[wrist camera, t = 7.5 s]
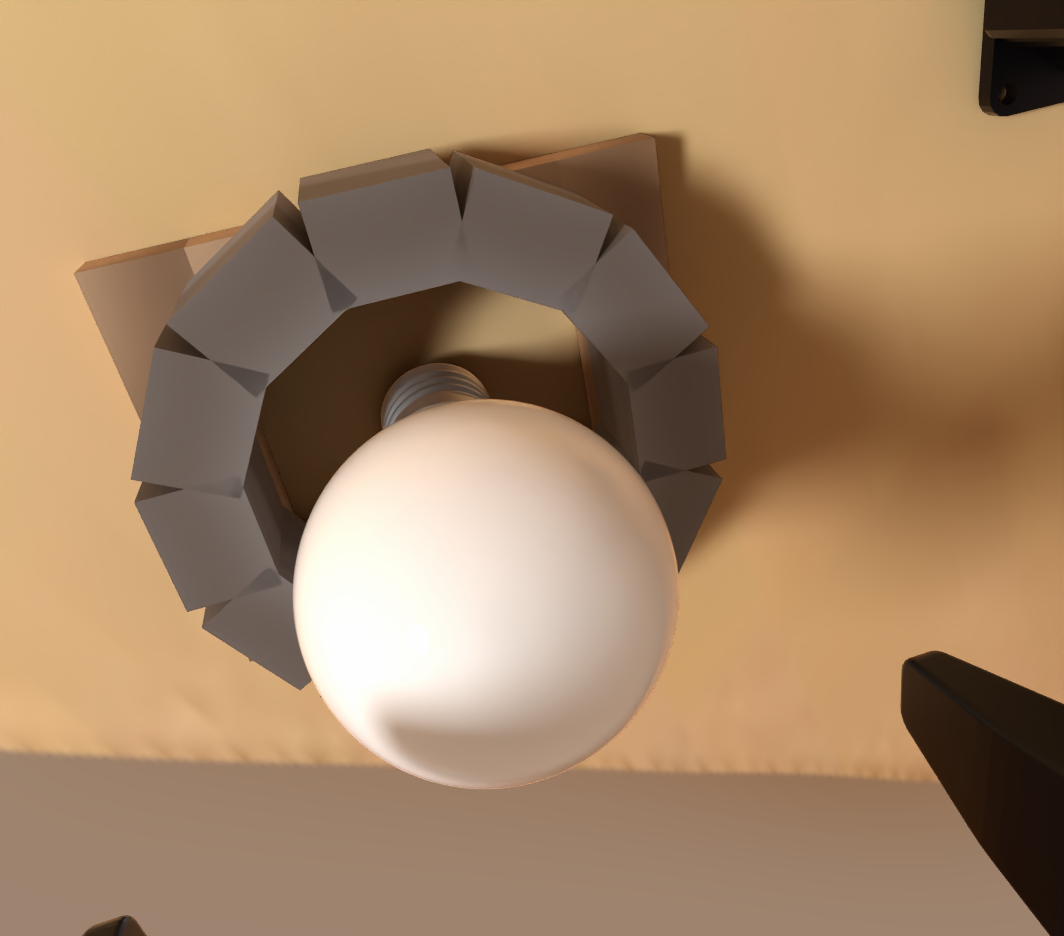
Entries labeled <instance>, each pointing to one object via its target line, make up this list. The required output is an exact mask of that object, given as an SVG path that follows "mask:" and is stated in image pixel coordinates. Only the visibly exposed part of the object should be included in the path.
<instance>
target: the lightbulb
mask: <svg viewBox="0 0 1064 936" xmlns="http://www.w3.org/2000/svg"><path fill="white" fill-rule="evenodd" d="M381 425H382V430H381V431H380V432H379V433H377V434H376V435H374V436H373V437H372V438H370V439H369V440H368V441H366V442H365V443H364V444H363V445H362V446H360V447H359V448H358V449H357V450H356V451H355V452H354V453H353V454H352V455H351V456H350V457H349V458H348V459H347V460H346V461H345V462H344V463H343V464H342V465H341V467H340V468H339V469H338V470H337V471H336V473H335V474H334V475H333V476H332V478H331V479H330V481H329V482H328V484H327V485H326V487H325V488H324V490H323V491H322V493H321V494H320V496H319V498H318V500H317V502H316V503H315V505H314V507H313V509H312V511H311V514H310V516H309V518H308V521H307V523H306V526H305V528H304V531H303V534H302V537H301V541H300V544H299V548H298V552H297V557H296V563H295V569H294V578H293V614H294V623H295V629H296V635H297V639H298V643H299V647H300V650H301V654H302V657H303V660H304V662H305V665H306V668H307V670H308V673H309V675H310V677H311V679H312V681H313V683H314V685H315V687H316V689H317V691H318V693H319V694H320V696H321V697H322V699H323V701H324V702H325V704H326V705H327V707H328V708H329V710H330V711H331V712H332V714H333V715H334V716H335V717H336V719H337V720H338V721H339V722H340V723H341V724H342V726H343V727H344V728H345V729H346V730H347V731H348V732H349V733H350V734H351V735H352V736H353V737H354V738H355V739H356V740H357V741H359V742H360V743H361V744H362V745H363V746H364V747H366V748H367V749H368V750H369V751H371V752H372V753H374V754H375V755H376V756H378V757H379V758H381V759H382V760H384V761H386V762H387V763H389V764H391V765H393V766H394V767H396V768H398V769H400V770H402V771H405V772H407V773H409V774H412V775H414V776H416V777H420V778H422V779H425V780H428V781H432V782H435V783H439V784H443V785H449V786H453V787H461V788H471V789H498V788H508V787H515V786H521V785H526V784H529V783H534V782H537V781H541V780H544V779H547V778H550V777H552V776H555V775H558V774H560V773H562V772H564V771H567V770H569V769H571V768H573V767H575V766H577V765H578V764H580V763H582V762H583V761H585V760H587V759H588V758H590V757H591V756H593V755H594V754H596V753H597V752H599V751H600V750H601V749H603V748H604V747H605V746H606V745H608V744H609V743H610V742H611V741H612V740H613V739H615V738H616V737H617V736H618V735H619V734H620V733H621V732H622V731H623V730H624V729H625V728H626V727H627V726H628V725H629V723H630V722H631V721H632V720H633V719H634V718H635V716H636V715H637V714H638V712H639V711H640V710H641V708H642V707H643V706H644V704H645V703H646V701H647V700H648V698H649V697H650V695H651V693H652V692H653V690H654V688H655V686H656V684H657V682H658V680H659V678H660V676H661V674H662V672H663V669H664V667H665V665H666V662H667V659H668V656H669V653H670V650H671V647H672V643H673V639H674V635H675V630H676V625H677V618H678V609H679V577H678V568H677V561H676V556H675V551H674V547H673V543H672V539H671V536H670V533H669V530H668V527H667V524H666V521H665V519H664V517H663V514H662V512H661V510H660V508H659V506H658V504H657V502H656V500H655V498H654V496H653V494H652V493H651V491H650V489H649V488H648V486H647V485H646V483H645V482H644V480H643V479H642V477H641V476H640V475H639V473H638V472H637V471H636V470H635V468H634V467H633V466H632V465H631V464H630V463H629V462H628V460H627V459H626V458H625V457H624V456H623V455H622V454H621V453H620V452H619V451H618V450H617V449H615V448H614V447H613V446H612V445H611V444H610V443H609V442H607V441H606V440H605V439H603V438H602V437H601V436H600V435H598V434H597V433H595V432H594V431H592V430H591V429H589V428H588V427H586V426H584V425H583V424H581V423H579V422H577V421H575V420H574V419H571V418H569V417H567V416H565V415H563V414H560V413H558V412H556V411H553V410H550V409H547V408H544V407H541V406H537V405H533V404H529V403H524V402H519V401H512V400H503V399H490V397H489V395H488V393H487V391H486V389H485V387H484V386H483V384H482V383H481V382H480V381H479V380H478V379H477V378H476V377H475V376H474V375H473V374H472V373H470V372H469V371H467V370H465V369H463V368H461V367H459V366H456V365H452V364H446V363H432V364H426V365H422V366H419V367H416V368H414V369H412V370H410V371H408V372H406V373H405V374H403V375H402V376H401V377H399V378H398V379H397V380H396V381H395V382H394V384H393V385H392V386H391V387H390V389H389V390H388V392H387V394H386V396H385V398H384V401H383V404H382V409H381Z"/></svg>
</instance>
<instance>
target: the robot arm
mask: <svg viewBox="0 0 1064 936" xmlns="http://www.w3.org/2000/svg"><path fill="white" fill-rule="evenodd" d="M1004 85H1006V94H1005V97H1004V98H1003V100H1002V101H1001V102H1000V99H999V95H1000V91H1001V89H1002V88H1003V87H1004ZM1062 102H1064V0H985V9H984V23H983V40H982V54H981V69H980V84H979V106H980V107H981V109H982V111H983V112H984V113H986V114H988V115H994V116H1009V115H1013V114H1017V113H1021V112H1026V111H1030V110H1034V109H1038V108H1042V107H1046V106H1050V105H1054V104H1058V103H1062ZM901 714H902V718H903V721H904V724H905V726H906V728H907V730H908V731H909V733H910V735H911V736H912V738H913V739H914V741H915V743H916V744H917V746H918V747H919V749H920V751H921V752H922V754H923V755H924V757H925V759H926V760H927V762H928V763H929V765H930V767H931V768H932V770H933V771H934V773H935V775H936V776H937V778H938V779H939V781H940V782H941V784H942V786H943V787H944V789H945V790H946V792H947V794H948V795H949V797H950V798H951V800H952V802H953V803H954V805H955V806H956V808H957V810H958V811H959V813H960V814H961V816H962V818H963V819H964V820H965V822H966V824H967V826H968V827H969V829H970V830H971V832H972V833H973V835H974V836H975V838H976V839H977V841H978V842H979V844H980V845H981V846H982V848H983V849H984V851H985V852H986V853H987V855H988V856H989V857H990V859H991V860H992V861H993V863H994V864H995V865H996V867H997V868H998V869H999V870H1000V872H1001V873H1002V874H1003V876H1004V877H1005V878H1006V879H1007V881H1008V882H1009V883H1010V885H1011V886H1012V887H1013V889H1014V890H1015V891H1016V892H1017V894H1018V895H1019V896H1020V898H1021V899H1022V900H1023V902H1024V903H1025V904H1026V905H1027V906H1028V908H1029V909H1030V911H1031V912H1032V913H1033V914H1034V916H1035V917H1036V918H1037V920H1038V921H1039V922H1040V923H1041V925H1042V926H1043V927H1044V929H1045V930H1046V931H1047V932H1048V933H1049V935H1050V936H1064V704H1063V703H1060V702H1058V701H1056V700H1053V699H1051V698H1049V697H1046V696H1044V695H1042V694H1039V693H1037V692H1035V691H1032V690H1030V689H1028V688H1025V687H1023V686H1021V685H1018V684H1016V683H1014V682H1012V681H1009V680H1007V679H1005V678H1002V677H1000V676H998V675H995V674H993V673H991V672H988V671H986V670H984V669H981V668H979V667H977V666H974V665H972V664H970V663H967V662H965V661H963V660H960V659H958V658H956V657H954V656H951V655H949V654H947V653H944V652H940V651H930V652H927V653H924V654H921V655H918V656H915V657H911V658H909V659H907V660H905V662H904V664H903V665H902V677H901ZM82 936H147V935H146V934H145V933H144V931H143V930H142V928H141V927H140V925H139V924H138V922H137V921H136V920H135V919H134V918H133V917H131V916H128V915H125V916H120V917H117V918H114V919H111V920H108V921H105V922H102V923H99V924H96V925H94V926H92V927H91V928H89V929H88V930H87V931H86V932H85V933H84V934H83V935H82Z"/></svg>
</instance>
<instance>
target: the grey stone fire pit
mask: <svg viewBox="0 0 1064 936" xmlns="http://www.w3.org/2000/svg"><path fill="white" fill-rule="evenodd" d="M298 204H299V208H300V211H301V212H300V211H299V210H298V209H297V208H296V207H295V206H294V205H293V204H292V203H291V202H290V201H289V200H288V199H287V198H286V197H285V196H284V195H283V194H282V193H281V192H280V191H279V190H278V191H277V192H276V193H275V194H274V195H273V196H272V197H271V198H270V199H269V200H268V201H267V202H266V203H265V204H264V206H263V207H262V208H261V209H260V210H259V211H258V212H257V213H256V214H255V215H254V216H253V217H252V218H251V219H250V220H249V221H248V222H247V223H246V224H245V225H243V226H239V227H235V228H230V229H226V230H222V231H218V232H213V233H209V234H205V235H200V236H196V237H192V238H188V239H183V240H179V241H175V242H170V243H166V244H162V245H158V246H153V247H149V248H145V249H140V250H136V251H132V252H128V253H123V254H119V255H115V256H110V257H106V258H102V259H98V260H93V261H89V262H85V263H84V264H83V265H82V266H81V267H80V268H79V269H78V270H77V271H76V272H75V273H74V275H75V277H76V280H77V282H78V284H79V286H80V288H81V291H82V293H83V295H84V297H85V299H86V302H87V304H88V306H89V308H90V310H91V313H92V315H93V317H94V319H95V321H96V324H97V326H98V328H99V330H100V332H101V335H102V337H103V339H104V341H105V343H106V346H107V348H108V350H109V352H110V354H111V357H112V359H113V361H114V363H115V365H116V368H117V370H118V372H119V374H120V376H121V379H122V381H123V383H124V385H125V387H126V390H127V392H128V394H129V396H130V398H131V401H132V403H133V405H134V407H135V409H136V412H137V414H138V416H139V418H140V420H141V424H140V430H139V436H138V441H137V447H136V453H135V459H134V464H133V470H132V476H131V480H136V481H142V484H141V487H140V489H139V492H138V494H137V497H136V499H135V502H134V503H135V505H136V507H137V509H138V511H139V513H140V515H141V518H142V520H143V522H144V524H145V526H146V528H147V530H148V532H149V534H150V536H151V538H152V540H153V542H154V544H155V546H156V549H157V551H158V553H159V555H160V557H161V559H162V561H163V563H164V565H165V567H166V569H167V571H168V573H169V575H170V577H171V580H172V582H173V584H174V586H175V588H176V590H177V592H178V594H179V596H180V598H181V600H182V602H183V604H184V606H185V608H186V610H187V612H189V611H192V610H196V609H199V608H203V607H206V609H205V615H204V620H203V625H202V628H203V629H204V630H206V631H208V632H209V633H211V634H212V635H214V636H215V637H217V638H219V639H220V640H222V641H223V642H225V643H226V644H228V645H230V646H231V647H233V648H234V649H236V650H237V651H239V652H241V653H242V654H244V655H245V656H247V657H248V658H249V660H250V662H251V661H255V662H256V663H258V664H259V665H261V666H263V667H264V668H266V669H267V670H269V671H270V672H272V673H274V674H275V675H277V676H278V677H280V678H281V679H283V680H285V681H286V682H288V683H289V684H291V685H292V686H294V687H296V688H297V689H299V690H301V689H302V688H304V687H305V686H306V685H307V684H308V683H309V682H310V681H311V680H312V679H311V677H310V675H309V673H308V670H307V668H306V665H305V662H304V660H303V657H302V654H301V650H300V647H299V643H298V639H297V635H296V629H295V623H294V614H293V578H294V569H295V563H296V557H297V552H298V548H299V544H300V541H301V537H302V534H303V531H304V528H305V526H306V523H305V522H304V521H303V520H301V519H300V518H299V517H297V516H296V515H295V514H294V511H293V509H292V506H291V503H290V501H289V498H288V495H287V493H286V490H285V487H284V485H283V482H282V479H281V477H280V474H279V472H278V469H277V466H276V464H275V461H274V458H273V456H272V453H271V450H270V448H269V445H268V442H267V440H266V437H265V435H264V432H263V429H262V427H261V424H260V421H259V416H260V411H261V407H262V403H263V398H264V394H265V390H266V387H267V386H268V385H269V384H270V383H271V382H272V381H273V380H274V379H275V378H276V377H277V376H278V375H279V374H280V373H282V372H283V371H284V370H285V369H286V368H287V367H288V366H289V365H290V364H291V363H292V362H293V361H294V360H295V359H296V358H297V357H298V356H299V355H300V354H301V353H302V352H303V351H304V350H305V349H306V348H307V347H308V346H309V345H310V344H311V343H312V342H314V341H315V340H316V339H317V338H318V337H319V336H320V335H321V334H322V333H323V332H324V331H325V330H326V329H327V328H328V327H329V326H330V325H331V324H332V323H333V322H334V321H335V320H336V319H337V318H338V317H339V316H340V315H341V314H342V313H343V312H345V311H346V310H347V309H349V308H353V307H357V306H361V305H365V304H369V303H373V302H377V301H381V300H385V299H390V298H394V297H398V296H402V295H406V294H410V293H414V292H418V291H422V290H426V289H430V288H434V287H438V286H442V285H446V284H450V283H454V282H458V281H462V282H465V283H468V284H472V285H475V286H479V287H482V288H486V289H489V290H493V291H496V292H500V293H503V294H506V295H510V296H513V297H517V298H520V299H524V300H527V301H531V302H534V303H537V304H541V305H544V306H548V307H551V308H555V309H558V310H562V312H563V313H564V314H565V315H566V316H567V317H568V318H569V319H570V321H571V322H572V323H573V324H574V325H575V326H576V332H577V338H578V344H579V350H580V356H581V362H582V368H583V374H584V380H585V386H586V392H587V398H588V404H589V410H590V416H591V422H592V428H593V431H594V432H595V433H597V434H598V435H600V436H601V437H602V438H603V439H605V440H606V441H607V442H609V443H610V444H611V445H612V446H613V447H614V448H615V449H617V450H618V451H619V452H620V453H621V454H622V455H623V456H624V457H625V458H626V459H627V460H628V462H629V463H630V464H631V465H632V466H633V467H634V468H635V470H636V471H637V472H638V473H639V475H640V476H641V477H642V479H643V480H644V482H645V483H646V485H647V486H648V488H649V489H650V491H651V493H652V494H653V496H654V498H655V500H656V502H657V504H658V506H659V508H660V510H661V512H662V514H663V517H664V519H665V521H666V524H667V527H668V530H669V533H670V536H671V539H672V543H673V547H674V551H675V556H676V561H677V568H678V574H679V571H680V569H681V567H682V565H683V563H684V561H685V558H686V556H687V554H688V552H689V550H690V548H691V545H692V543H693V541H694V539H695V537H696V535H697V532H698V530H699V528H700V526H701V524H702V522H703V519H704V517H705V515H706V513H707V511H708V509H709V506H710V504H711V502H712V500H713V498H714V496H715V493H716V491H717V489H718V487H719V485H720V483H721V480H722V478H721V477H720V476H719V475H718V474H717V473H716V472H715V471H714V470H713V468H712V467H711V466H710V465H709V464H710V463H714V462H717V461H721V460H724V459H726V452H725V440H724V428H723V415H722V403H721V391H720V379H719V367H718V354H717V347H716V346H715V345H714V344H712V343H711V342H710V341H708V340H707V339H706V338H704V337H703V336H702V335H701V334H702V333H703V332H704V331H705V330H706V329H707V328H709V326H708V325H707V323H706V322H705V321H704V319H703V318H702V317H701V316H700V314H699V313H698V312H697V310H696V309H695V308H694V307H693V305H692V304H691V303H690V301H689V300H688V299H687V298H686V296H685V295H684V294H683V292H682V291H681V290H680V289H679V287H678V286H677V285H676V283H675V282H674V281H673V280H672V278H671V277H670V276H669V268H668V258H667V249H666V239H665V230H664V220H663V211H662V202H661V192H660V183H659V173H658V164H657V155H656V145H655V137H651V136H648V135H644V134H641V133H638V134H633V135H629V136H625V137H620V138H616V139H612V140H608V141H603V142H599V143H595V144H590V145H586V146H582V147H578V148H573V149H569V150H565V151H560V152H556V153H552V154H548V155H543V156H539V157H535V158H530V159H526V160H522V161H518V162H513V163H509V164H505V165H500V166H498V165H496V164H493V163H490V162H487V161H484V160H481V159H478V158H475V157H472V156H469V155H467V154H464V153H461V152H458V151H455V150H453V153H452V157H451V160H450V164H449V166H448V165H447V164H446V163H445V162H444V161H442V160H441V159H440V158H439V157H438V156H437V155H436V154H435V153H434V152H433V151H431V150H430V149H426V150H421V151H417V152H413V153H408V154H404V155H400V156H395V157H391V158H386V159H382V160H378V161H373V162H369V163H365V164H360V165H356V166H351V167H347V168H343V169H338V170H334V171H330V172H325V173H321V174H316V175H312V176H308V177H303V178H300V186H299V196H298ZM320 697H321V696H320Z"/></svg>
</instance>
